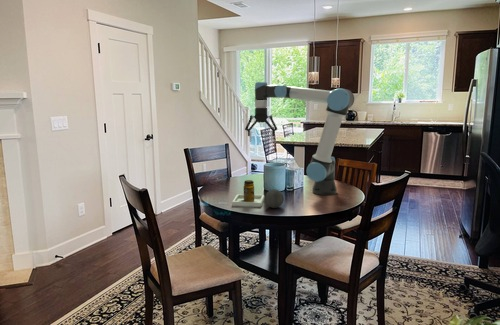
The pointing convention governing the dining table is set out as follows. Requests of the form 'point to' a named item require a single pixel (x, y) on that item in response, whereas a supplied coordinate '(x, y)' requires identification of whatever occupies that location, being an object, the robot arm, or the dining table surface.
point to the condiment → (248, 191)
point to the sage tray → (248, 204)
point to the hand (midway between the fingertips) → (261, 141)
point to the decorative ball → (274, 198)
